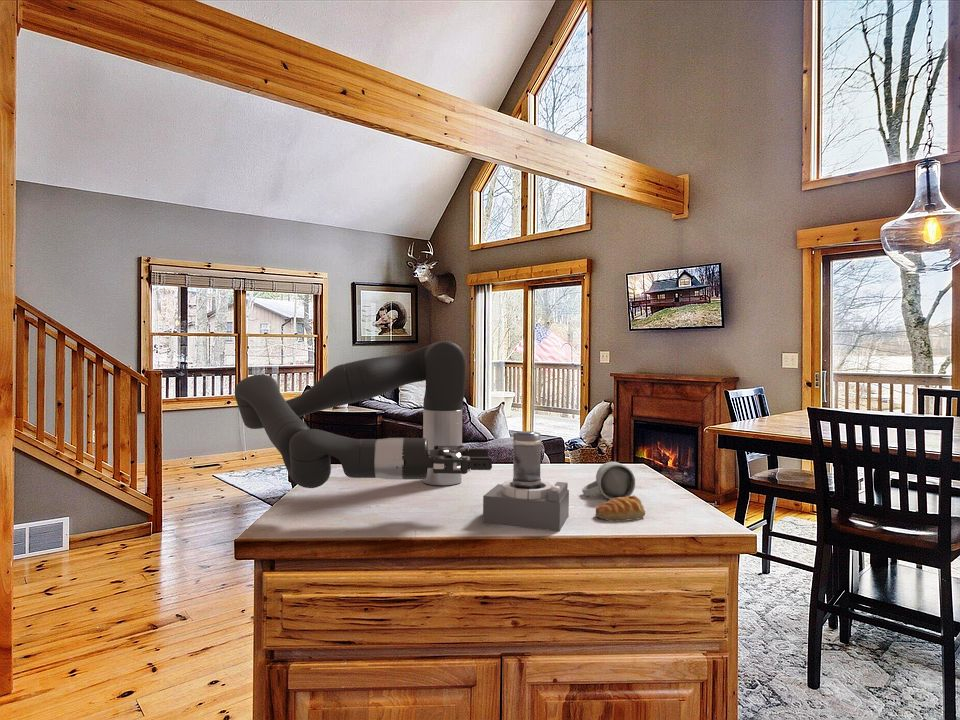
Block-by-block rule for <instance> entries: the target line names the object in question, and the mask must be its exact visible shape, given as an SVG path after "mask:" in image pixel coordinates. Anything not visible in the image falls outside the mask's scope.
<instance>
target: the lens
mask: <svg viewBox="0 0 960 720" xmlns="http://www.w3.org/2000/svg"><path fill="white" fill-rule="evenodd" d="M512 437H513V439H512V444H513V447H512V448H513V449H512V450H513V452H512V453H513V458H512V459H513V460H512V461H513V463H512V464H513V466H512V468H513V469H512V470H513V471H512V472H513V474H512V475H513V476H512V480H513V487H514V488H519V489H539V488H540V486H541V481H542V479H541V445H542V439H541V433H540V432H537V431H534V430H533V431H532V430H527V431H526V430H523V431H521V430H520V431H516V432H513V435H512Z"/></svg>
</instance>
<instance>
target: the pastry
mask: <svg viewBox="0 0 960 720" xmlns="http://www.w3.org/2000/svg"><path fill="white" fill-rule="evenodd" d="M644 507H645V506H644V505H643V504H642V500H641V499H640V498H639V497H638V496H635V495H631V496H626V497H617V498H612V499H608V501H606V502H602V503H601V504H599V505H598V506H596V508H595V514H594V515H595V517H597V518H600V519H602V520H605V521H609V520H613V521H616V520H626V521H628V520H627V519H633V520H638V519H637V518H640V519H643V518H644V517H645V516H646V510H645V508H644Z"/></svg>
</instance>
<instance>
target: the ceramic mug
mask: <svg viewBox="0 0 960 720" xmlns="http://www.w3.org/2000/svg"><path fill="white" fill-rule="evenodd" d="M635 489H636V478H635V475H634V473H633V471H632V470H631V469H630V468H629V467H627V466H626V465H624V464H623V463H620V462H618V461H608V462H605V463H603V464H601V465H600V467H599V468H598V470H597V471H596V474H595V481H593V482H590V483H588V484H586V485H585V486H584V487H582V489H581V490H582V491H581V492H582V494H583V496H584V497H585V496H586V497H585V498H589V497H593V496H596V495H599V494H602V495H603V496H604V498H606V499H608V500H610V499H612V498H617V497H626V496H632V494H633V493H634V491H635Z"/></svg>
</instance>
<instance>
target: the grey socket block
mask: <svg viewBox="0 0 960 720" xmlns="http://www.w3.org/2000/svg"><path fill="white" fill-rule="evenodd" d="M568 484H569V483H568V482H567V481H566V482H564V481H556V483H554V484H552V483H550V482H548V481H544V480H541V486H540V488H539V489H519V488H514V487H513V479H511V480H506V481H504V482H503V483H500V484H499V483H497V484H496V485H495V486H493V487H492V488H491V489H490V490H489V491H487V493H485V494H483V496H482V498H483V500H482V505H483V506H482V524H486V525H496V526H497V525H498V526H505V527H514V528H515V527H516V528H525V529H533V530H535V529H536V530H545V531H554V532H560V531H561V530H562V528H563V527H564V525H565V523H566V521H567V520H568V517H569V509H570V489H568Z"/></svg>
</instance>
